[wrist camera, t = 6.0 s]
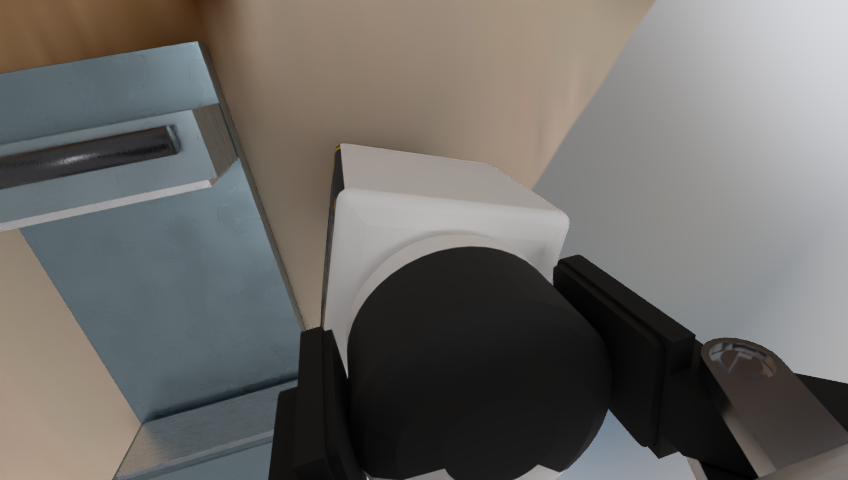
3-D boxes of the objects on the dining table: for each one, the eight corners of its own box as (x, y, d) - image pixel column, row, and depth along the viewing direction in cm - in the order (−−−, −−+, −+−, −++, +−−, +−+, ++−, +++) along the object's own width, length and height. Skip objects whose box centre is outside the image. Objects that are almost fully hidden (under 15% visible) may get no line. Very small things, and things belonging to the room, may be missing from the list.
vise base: (-44, 84, 20) (-197, 88, 14) (205, 43, 22) (160, 30, 16) (168, 437, 30) (129, 524, 24) (327, 391, 32) (327, 462, 26)
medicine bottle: (335, 140, 17) (342, 284, 6) (493, 162, 19) (712, 303, 8) (321, 289, 19) (308, 572, 9) (461, 296, 21) (592, 537, 11)
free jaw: (-36, 150, 20) (-168, 177, 14) (217, 103, 21) (182, 112, 16) (5, 214, 21) (-102, 260, 16) (240, 165, 23) (214, 192, 17)
